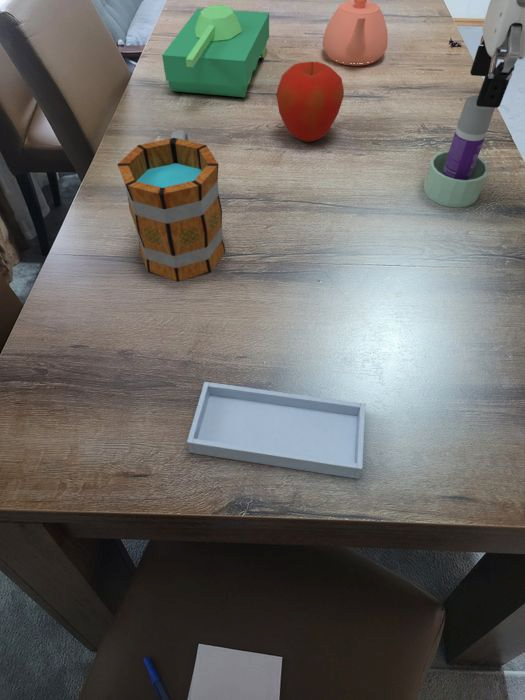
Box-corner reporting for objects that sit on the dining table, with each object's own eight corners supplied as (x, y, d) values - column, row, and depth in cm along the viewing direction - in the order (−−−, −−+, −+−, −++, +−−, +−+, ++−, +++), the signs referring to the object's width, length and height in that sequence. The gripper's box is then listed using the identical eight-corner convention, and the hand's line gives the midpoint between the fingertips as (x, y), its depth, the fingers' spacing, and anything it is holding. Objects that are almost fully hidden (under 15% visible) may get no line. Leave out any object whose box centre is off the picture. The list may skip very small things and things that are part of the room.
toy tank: (146, 50, 95) (195, -10, 116) (157, 114, 104) (201, 47, 125) (235, 56, 92) (269, -7, 113) (238, 121, 102) (269, 52, 123)
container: (466, 197, 84) (499, 110, 73) (438, 195, 85) (466, 108, 73) (463, 182, 87) (494, 96, 75) (437, 179, 88) (463, 94, 76)
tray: (362, 415, 59) (365, 403, 57) (358, 479, 54) (362, 469, 52) (206, 393, 61) (204, 381, 59) (189, 452, 56) (186, 442, 54)
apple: (265, 144, 96) (265, 67, 85) (292, 117, 103) (295, 42, 92) (323, 160, 93) (331, 82, 82) (347, 131, 99) (357, 55, 88)
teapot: (387, 79, 113) (398, 17, 104) (319, 76, 114) (324, 15, 105) (383, 41, 127) (393, -17, 117) (322, 38, 128) (327, -19, 118)
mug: (223, 281, 73) (215, 194, 61) (132, 281, 73) (107, 194, 61) (229, 201, 85) (224, 116, 73) (152, 201, 85) (133, 116, 73)
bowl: (475, 178, 89) (485, 152, 85) (480, 209, 83) (491, 183, 79) (422, 173, 90) (429, 148, 86) (424, 204, 84) (432, 178, 80)
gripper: (582, -30, 54) (518, 121, 68) (553, -73, 64) (502, 66, 78) (511, -34, 55) (462, 117, 68) (493, -76, 65) (454, 63, 79)
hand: (483, 90), depth 73 cm, fingers open, 9 cm apart
